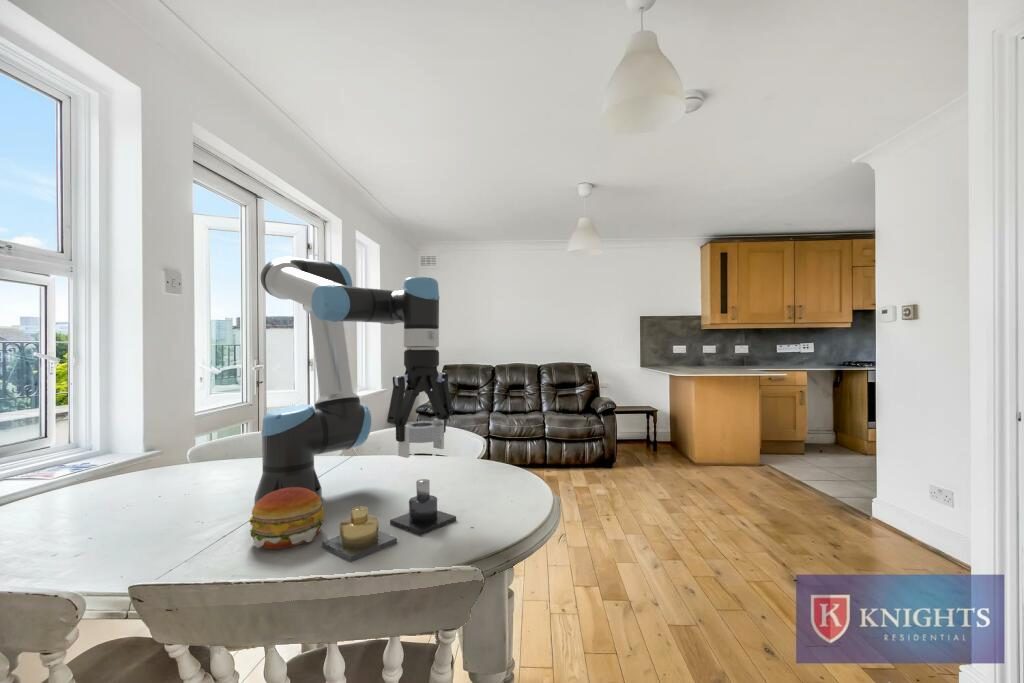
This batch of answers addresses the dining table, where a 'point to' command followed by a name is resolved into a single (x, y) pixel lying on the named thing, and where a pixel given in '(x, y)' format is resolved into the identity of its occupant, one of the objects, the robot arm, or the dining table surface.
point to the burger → (286, 518)
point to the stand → (423, 512)
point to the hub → (358, 536)
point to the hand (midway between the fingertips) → (421, 452)
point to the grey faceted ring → (425, 431)
